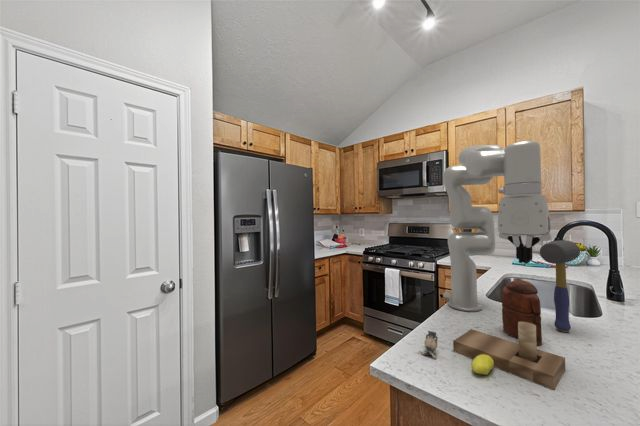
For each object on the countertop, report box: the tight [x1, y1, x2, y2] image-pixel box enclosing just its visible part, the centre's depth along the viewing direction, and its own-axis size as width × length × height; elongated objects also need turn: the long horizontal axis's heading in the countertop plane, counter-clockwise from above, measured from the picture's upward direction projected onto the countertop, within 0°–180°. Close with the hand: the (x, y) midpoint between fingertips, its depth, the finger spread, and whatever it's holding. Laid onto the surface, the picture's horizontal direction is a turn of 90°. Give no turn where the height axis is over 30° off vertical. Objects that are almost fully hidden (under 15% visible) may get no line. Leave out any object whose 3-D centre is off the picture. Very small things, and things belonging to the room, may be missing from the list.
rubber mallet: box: [539, 239, 581, 333], centre depth 87 cm, size 12×8×30 cm, turn 119°
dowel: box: [517, 322, 538, 363], centre depth 67 cm, size 4×4×11 cm
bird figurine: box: [417, 330, 439, 360], centre depth 75 cm, size 5×5×6 cm
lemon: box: [471, 355, 494, 376], centre depth 66 cm, size 4×8×4 cm, turn 123°
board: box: [452, 328, 566, 391], centre depth 71 cm, size 22×12×3 cm, turn 38°
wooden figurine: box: [501, 279, 543, 346], centre depth 83 cm, size 12×6×18 cm, turn 23°
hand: (524, 262), depth 67 cm, fingers closed
